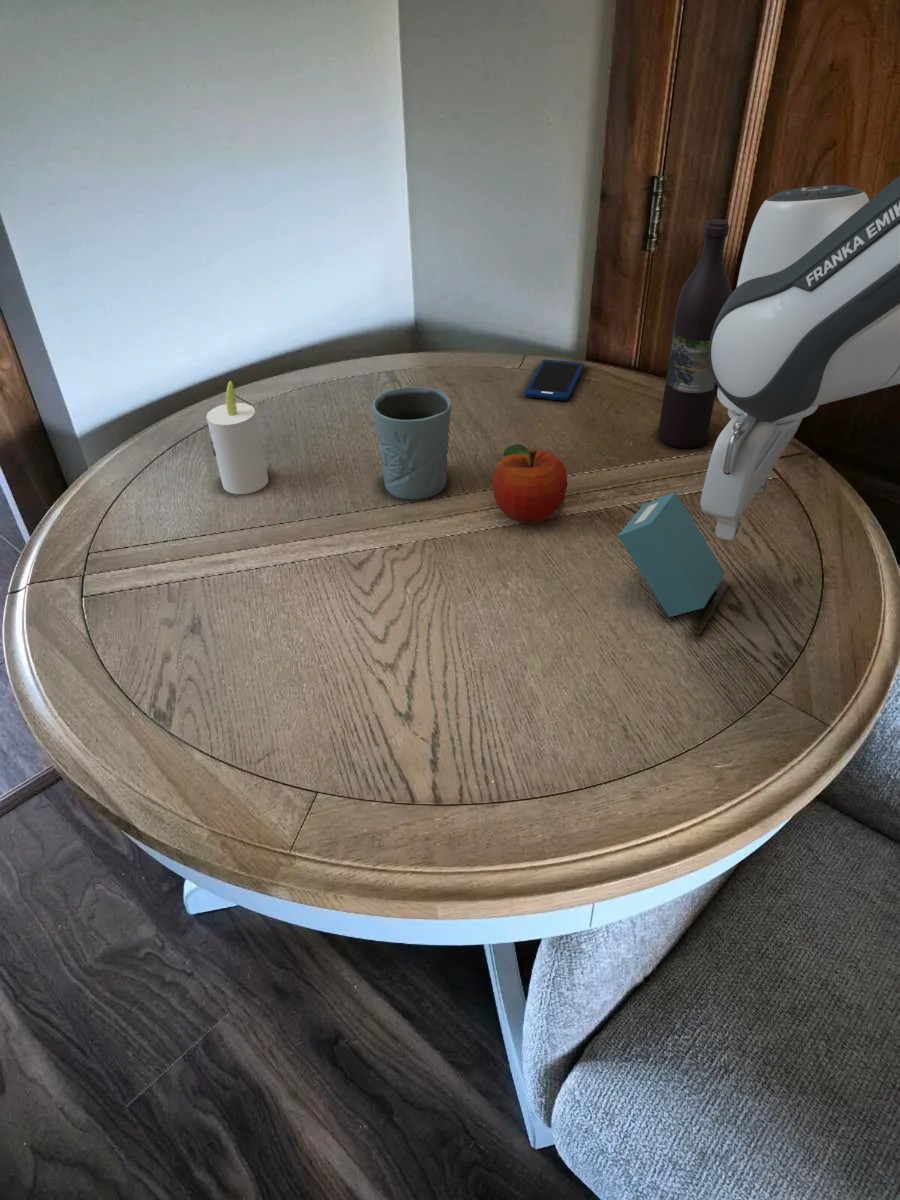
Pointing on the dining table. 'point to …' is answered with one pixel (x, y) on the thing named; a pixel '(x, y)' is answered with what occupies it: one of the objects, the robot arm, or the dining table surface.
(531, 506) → the fruit
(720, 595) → the stop strip
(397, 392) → the blue grey cup
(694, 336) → the wine bottle
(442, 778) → the dining table surface
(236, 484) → the candle
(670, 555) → the teal labeled box
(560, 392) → the cell phone
